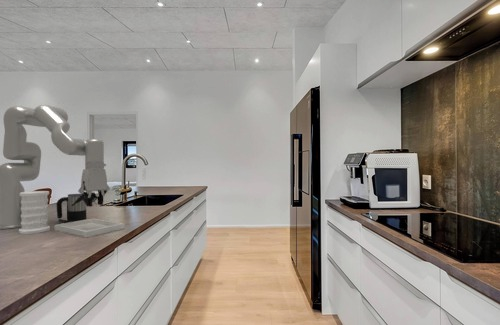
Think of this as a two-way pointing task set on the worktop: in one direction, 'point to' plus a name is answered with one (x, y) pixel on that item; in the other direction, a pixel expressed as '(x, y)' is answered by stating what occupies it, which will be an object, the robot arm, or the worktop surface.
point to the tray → (89, 227)
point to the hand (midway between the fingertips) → (94, 205)
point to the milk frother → (72, 209)
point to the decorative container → (34, 212)
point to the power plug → (85, 199)
